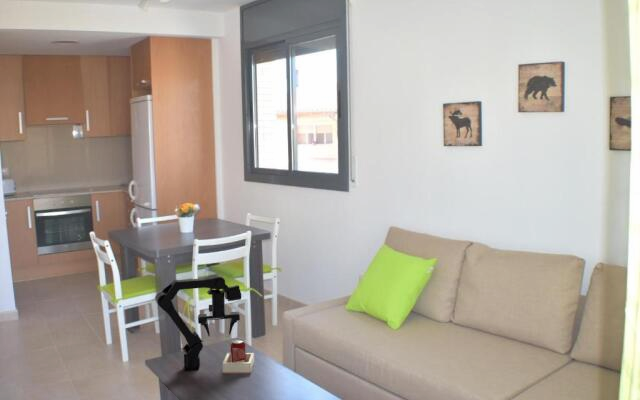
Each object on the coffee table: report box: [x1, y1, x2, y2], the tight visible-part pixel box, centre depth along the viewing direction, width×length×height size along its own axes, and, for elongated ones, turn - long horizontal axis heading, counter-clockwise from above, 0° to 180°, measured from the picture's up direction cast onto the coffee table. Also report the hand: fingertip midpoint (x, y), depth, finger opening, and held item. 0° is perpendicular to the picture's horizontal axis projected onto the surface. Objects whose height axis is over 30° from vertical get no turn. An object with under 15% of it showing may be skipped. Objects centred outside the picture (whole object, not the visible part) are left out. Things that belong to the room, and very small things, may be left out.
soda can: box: [229, 338, 247, 362], centre depth 264 cm, size 7×7×12 cm
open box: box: [222, 352, 255, 374], centre depth 265 cm, size 12×12×4 cm
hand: (219, 335), depth 270 cm, fingers open, 9 cm apart
